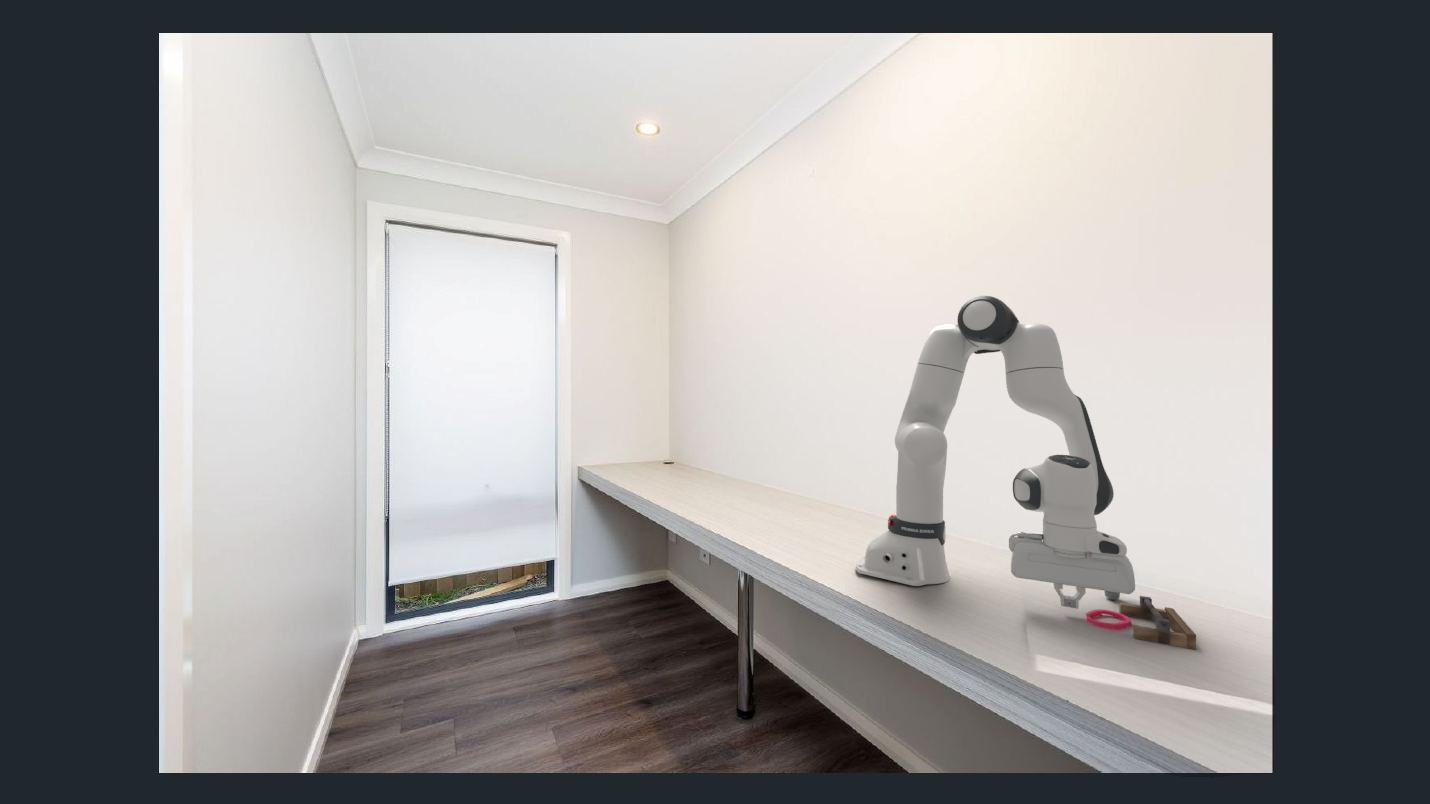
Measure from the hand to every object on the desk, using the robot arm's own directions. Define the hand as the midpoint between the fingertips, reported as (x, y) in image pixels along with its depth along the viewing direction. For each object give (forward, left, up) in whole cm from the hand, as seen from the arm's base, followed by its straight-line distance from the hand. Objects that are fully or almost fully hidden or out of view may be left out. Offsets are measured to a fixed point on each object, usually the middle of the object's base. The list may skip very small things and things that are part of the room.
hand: (1069, 606), depth 100 cm
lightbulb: (+9, +14, -2) cm, 17 cm away
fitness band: (+6, 0, -2) cm, 7 cm away
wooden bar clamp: (+12, 0, -2) cm, 12 cm away
